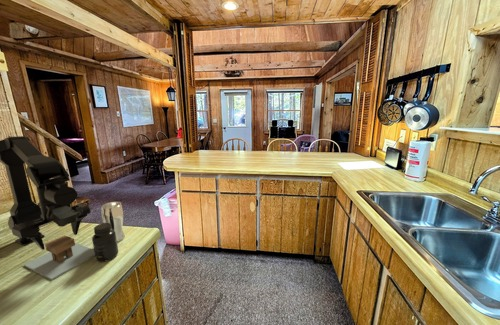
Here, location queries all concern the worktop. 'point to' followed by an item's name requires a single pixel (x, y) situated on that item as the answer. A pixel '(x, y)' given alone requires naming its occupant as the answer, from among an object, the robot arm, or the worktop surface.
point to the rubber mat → (56, 269)
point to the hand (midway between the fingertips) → (60, 241)
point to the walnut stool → (60, 248)
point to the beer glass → (114, 218)
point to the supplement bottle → (104, 242)
